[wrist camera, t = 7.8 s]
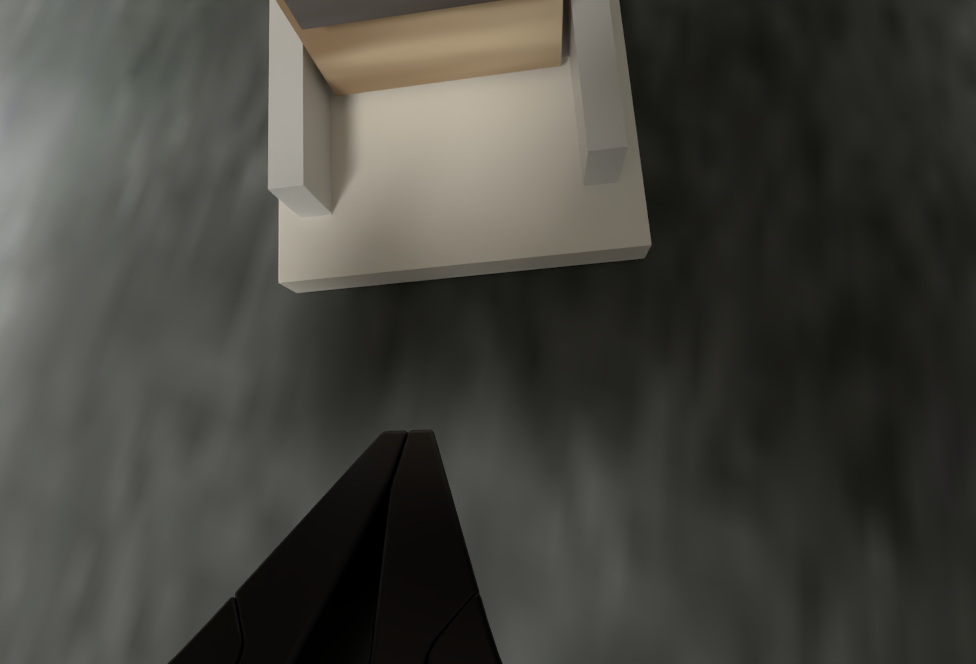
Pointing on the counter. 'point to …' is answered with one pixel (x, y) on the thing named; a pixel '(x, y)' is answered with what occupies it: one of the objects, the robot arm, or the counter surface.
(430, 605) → the robot arm
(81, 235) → the counter surface
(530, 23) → the light wood block
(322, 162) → the housing
